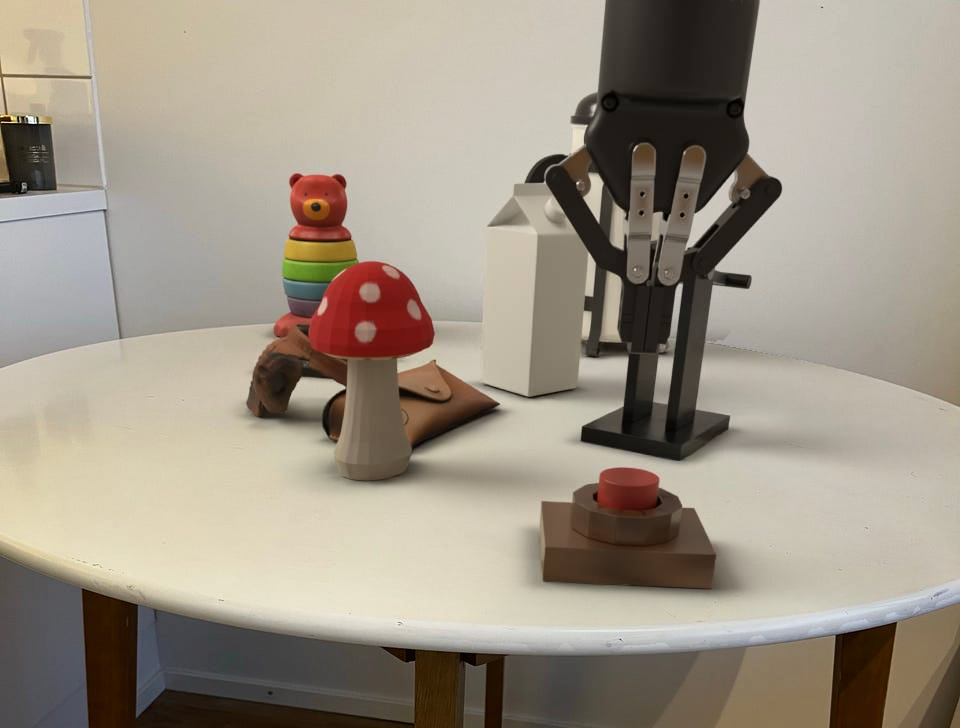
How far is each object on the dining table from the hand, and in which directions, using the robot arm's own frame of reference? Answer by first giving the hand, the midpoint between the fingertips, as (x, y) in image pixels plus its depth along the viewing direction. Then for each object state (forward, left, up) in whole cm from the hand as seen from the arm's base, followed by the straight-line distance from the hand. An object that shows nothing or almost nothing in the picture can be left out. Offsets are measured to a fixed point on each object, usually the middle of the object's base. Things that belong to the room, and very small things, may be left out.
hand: (641, 351), depth 58 cm
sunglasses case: (+15, -29, -13) cm, 35 cm away
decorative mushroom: (+17, -16, -13) cm, 27 cm away
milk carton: (+5, -45, -13) cm, 47 cm away
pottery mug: (+26, -31, -13) cm, 42 cm away
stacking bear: (+30, -69, -13) cm, 76 cm away
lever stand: (-6, -29, -13) cm, 32 cm away
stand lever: (-9, -34, -1) cm, 35 cm away
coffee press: (-4, -67, -13) cm, 68 cm away
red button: (0, 0, -9) cm, 9 cm away
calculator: (+27, -51, -13) cm, 59 cm away
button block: (0, 0, -13) cm, 13 cm away
